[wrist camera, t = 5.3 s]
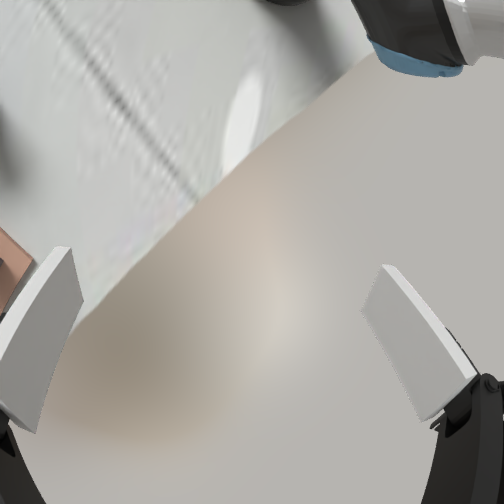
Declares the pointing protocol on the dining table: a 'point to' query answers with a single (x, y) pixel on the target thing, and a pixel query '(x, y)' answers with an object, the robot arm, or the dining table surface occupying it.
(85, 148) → the dining table surface
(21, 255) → the domino board
